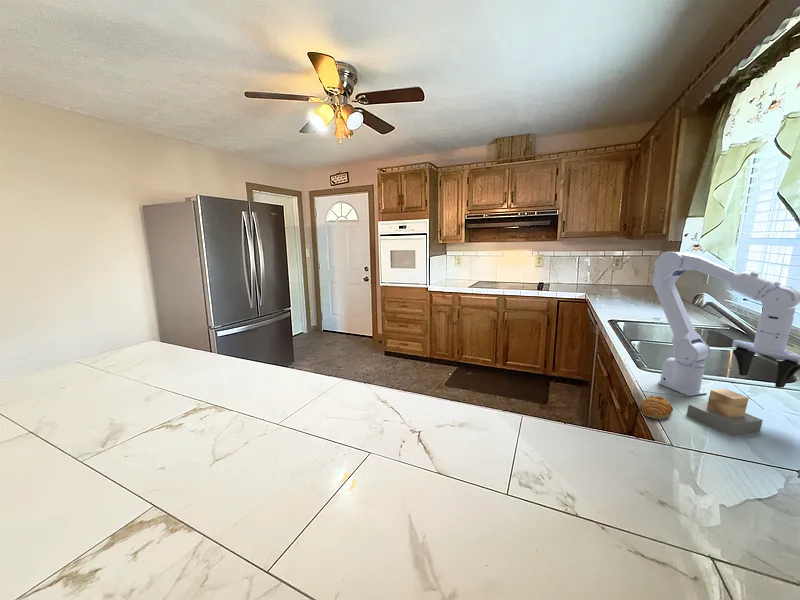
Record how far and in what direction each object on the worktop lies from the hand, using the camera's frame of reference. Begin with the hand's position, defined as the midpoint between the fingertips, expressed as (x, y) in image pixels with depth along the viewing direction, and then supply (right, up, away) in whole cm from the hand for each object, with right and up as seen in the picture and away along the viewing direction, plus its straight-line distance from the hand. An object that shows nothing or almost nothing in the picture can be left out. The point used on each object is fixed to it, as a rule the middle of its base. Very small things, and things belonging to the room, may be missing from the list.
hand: (760, 380), depth 89 cm
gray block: (-14, -10, -4) cm, 18 cm away
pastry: (-28, -9, 0) cm, 30 cm away
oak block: (-14, -7, -4) cm, 16 cm away
